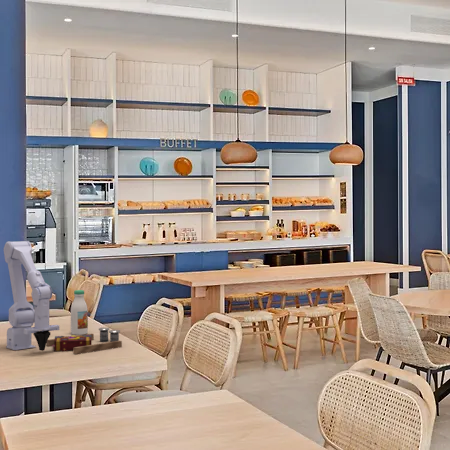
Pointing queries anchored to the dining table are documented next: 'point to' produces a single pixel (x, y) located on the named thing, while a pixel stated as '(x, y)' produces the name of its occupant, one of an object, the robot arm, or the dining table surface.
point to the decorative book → (71, 342)
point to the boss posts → (104, 335)
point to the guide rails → (91, 346)
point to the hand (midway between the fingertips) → (41, 350)
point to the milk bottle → (79, 314)
